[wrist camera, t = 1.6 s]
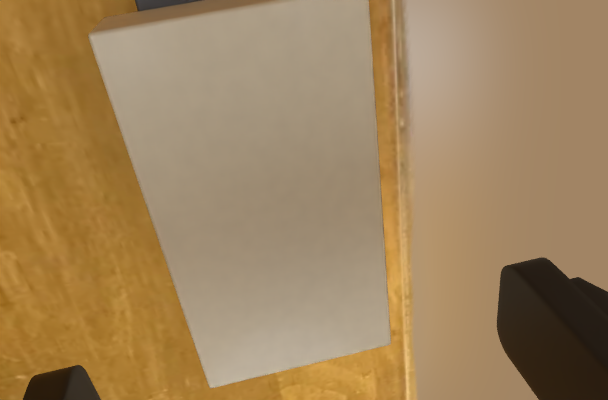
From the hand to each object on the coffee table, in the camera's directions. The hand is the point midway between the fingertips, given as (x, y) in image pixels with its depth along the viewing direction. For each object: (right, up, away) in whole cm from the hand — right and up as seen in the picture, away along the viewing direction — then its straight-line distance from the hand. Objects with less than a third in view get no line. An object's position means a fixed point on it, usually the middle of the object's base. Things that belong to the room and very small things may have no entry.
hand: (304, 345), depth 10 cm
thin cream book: (-1, +3, +5) cm, 6 cm away
